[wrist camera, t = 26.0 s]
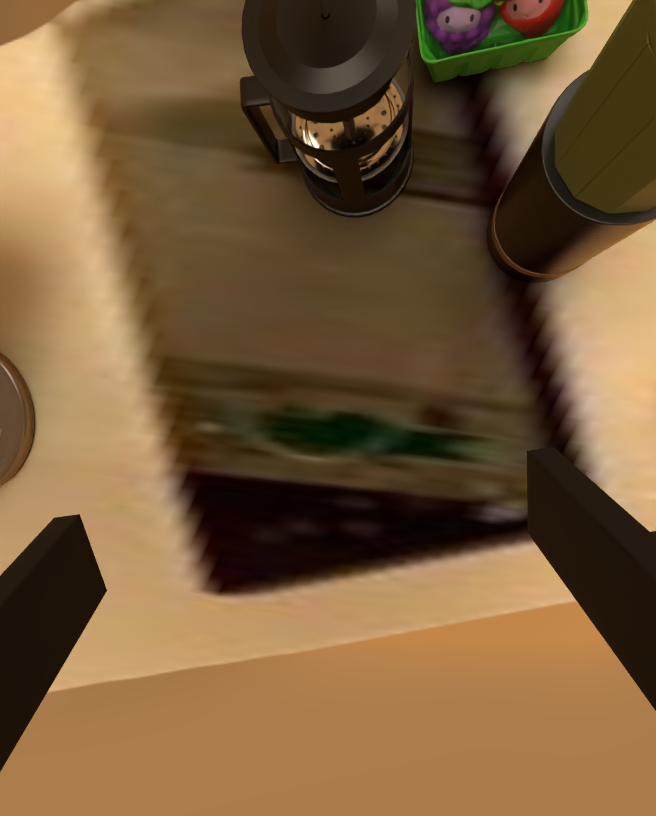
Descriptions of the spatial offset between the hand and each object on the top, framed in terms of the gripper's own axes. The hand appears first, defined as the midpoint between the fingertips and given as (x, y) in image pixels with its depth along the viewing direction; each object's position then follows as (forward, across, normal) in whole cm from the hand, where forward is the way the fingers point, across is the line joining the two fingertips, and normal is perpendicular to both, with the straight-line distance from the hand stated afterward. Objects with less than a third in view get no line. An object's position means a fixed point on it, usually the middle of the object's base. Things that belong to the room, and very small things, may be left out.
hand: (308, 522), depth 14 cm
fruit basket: (+34, +17, +21) cm, 44 cm away
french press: (+34, +5, +13) cm, 37 cm away
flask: (+29, +19, +6) cm, 36 cm away
